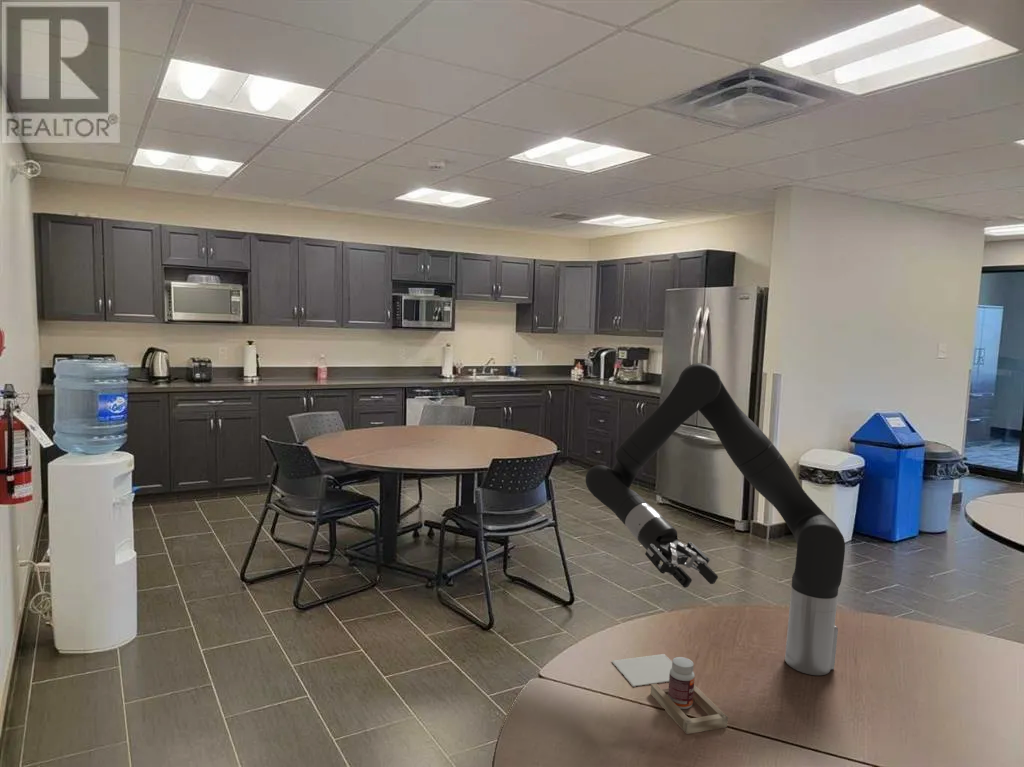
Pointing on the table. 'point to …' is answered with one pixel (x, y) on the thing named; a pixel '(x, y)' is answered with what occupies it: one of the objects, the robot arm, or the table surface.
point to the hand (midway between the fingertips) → (702, 582)
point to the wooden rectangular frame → (694, 724)
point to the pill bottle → (681, 682)
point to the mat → (645, 669)
